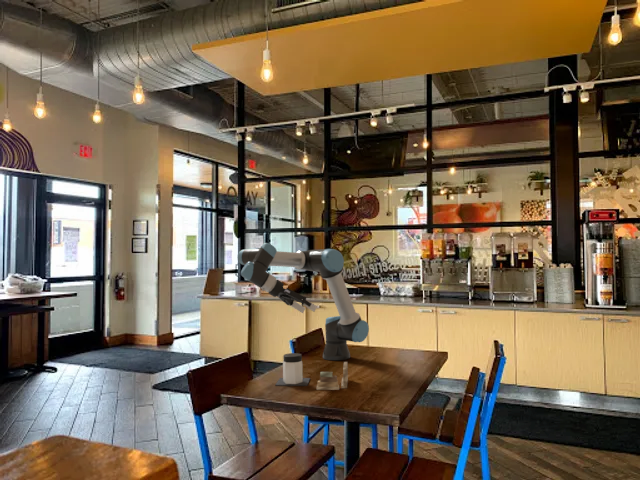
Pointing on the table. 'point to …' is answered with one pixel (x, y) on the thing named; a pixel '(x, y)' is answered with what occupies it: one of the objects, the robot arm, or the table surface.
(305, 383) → the mat
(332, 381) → the offcuts
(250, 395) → the table surface
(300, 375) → the jar
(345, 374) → the rack
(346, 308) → the robot arm
